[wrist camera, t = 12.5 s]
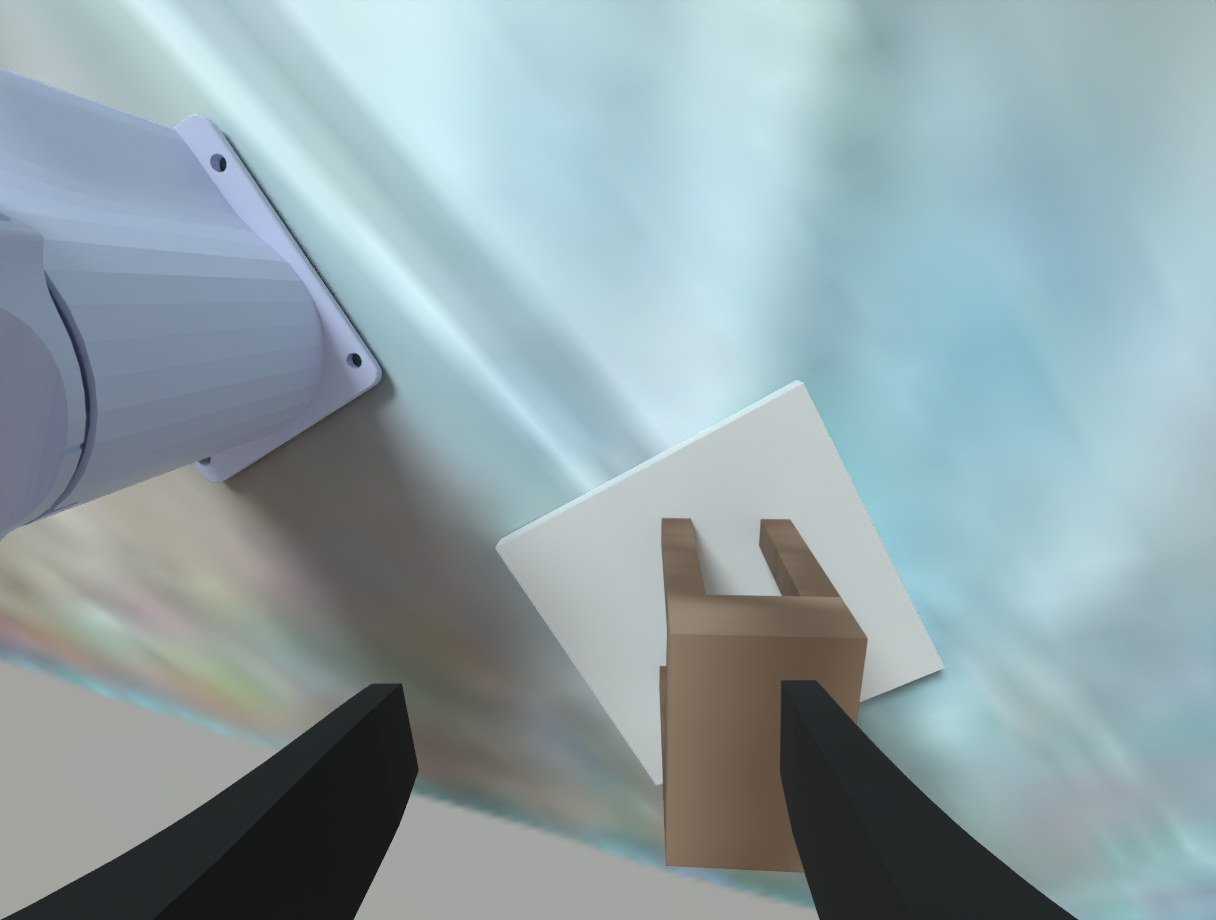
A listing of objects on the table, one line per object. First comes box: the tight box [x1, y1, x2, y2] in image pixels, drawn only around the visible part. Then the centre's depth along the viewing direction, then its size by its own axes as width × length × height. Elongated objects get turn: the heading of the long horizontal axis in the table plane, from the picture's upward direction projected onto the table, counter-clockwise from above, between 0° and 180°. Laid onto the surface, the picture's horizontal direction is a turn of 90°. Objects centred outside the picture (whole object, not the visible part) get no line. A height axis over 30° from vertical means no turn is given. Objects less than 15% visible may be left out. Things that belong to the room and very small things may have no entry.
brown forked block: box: [659, 518, 868, 872], centre depth 17 cm, size 4×7×7 cm, turn 1°
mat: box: [495, 380, 945, 786], centre depth 21 cm, size 12×12×1 cm
